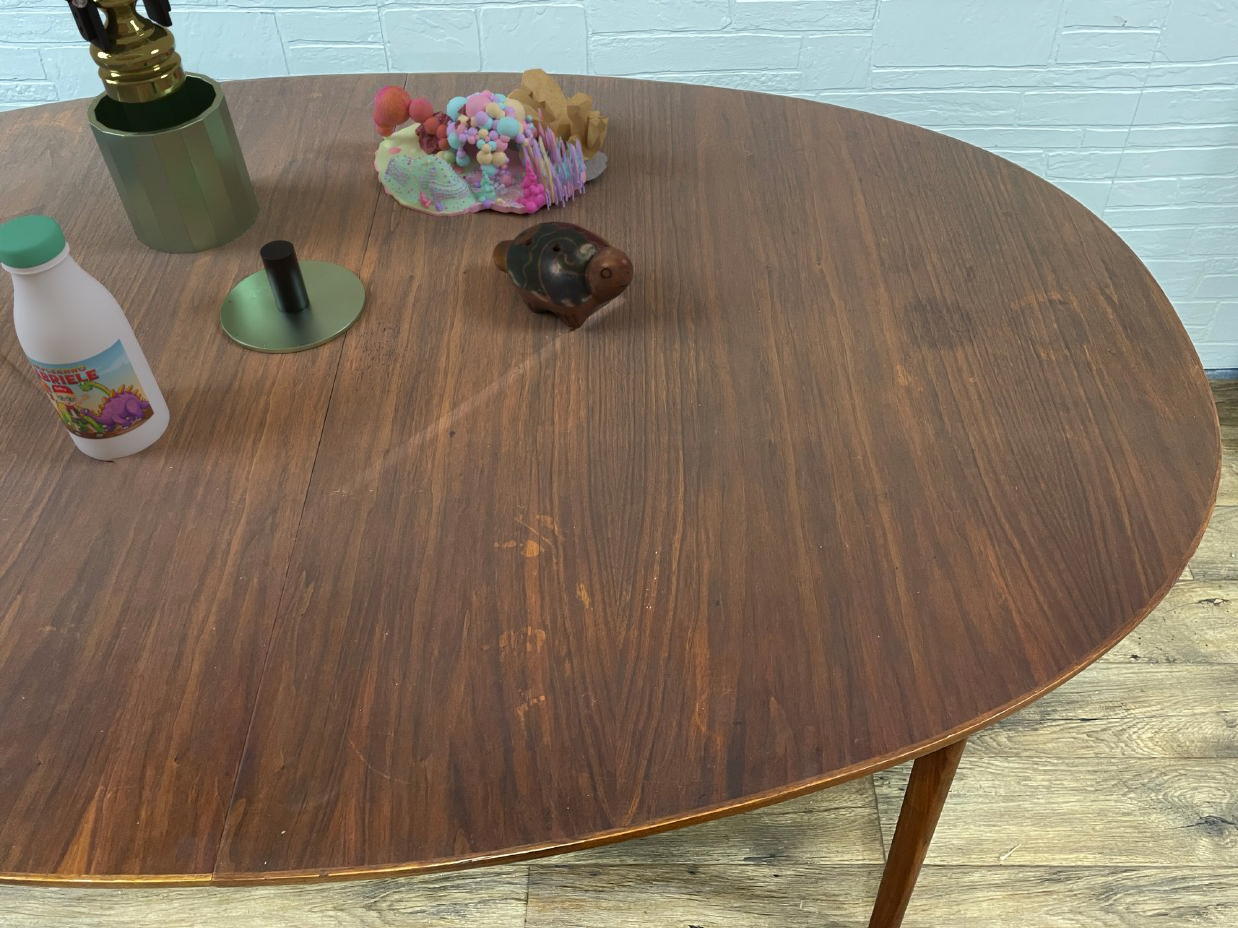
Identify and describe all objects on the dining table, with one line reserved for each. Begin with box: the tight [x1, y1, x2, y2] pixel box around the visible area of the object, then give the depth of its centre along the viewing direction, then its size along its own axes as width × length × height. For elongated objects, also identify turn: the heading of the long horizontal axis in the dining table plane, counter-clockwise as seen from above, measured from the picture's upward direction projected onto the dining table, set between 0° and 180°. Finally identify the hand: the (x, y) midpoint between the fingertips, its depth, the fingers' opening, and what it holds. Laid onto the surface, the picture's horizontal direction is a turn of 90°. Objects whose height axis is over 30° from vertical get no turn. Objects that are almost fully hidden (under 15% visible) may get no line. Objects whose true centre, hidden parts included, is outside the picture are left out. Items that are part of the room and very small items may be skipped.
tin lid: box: [219, 239, 367, 354], centre depth 96 cm, size 13×13×7 cm
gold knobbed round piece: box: [88, 0, 187, 104], centre depth 94 cm, size 7×7×10 cm
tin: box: [86, 70, 260, 254], centre depth 104 cm, size 12×12×14 cm
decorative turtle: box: [492, 221, 634, 330], centre depth 96 cm, size 10×15×8 cm, turn 63°
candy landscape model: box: [373, 68, 610, 218], centre depth 112 cm, size 25×24×9 cm
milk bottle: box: [0, 214, 171, 462], centre depth 81 cm, size 8×8×20 cm
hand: (130, 32), depth 94 cm, fingers closed on gold knobbed round piece, 5 cm apart
